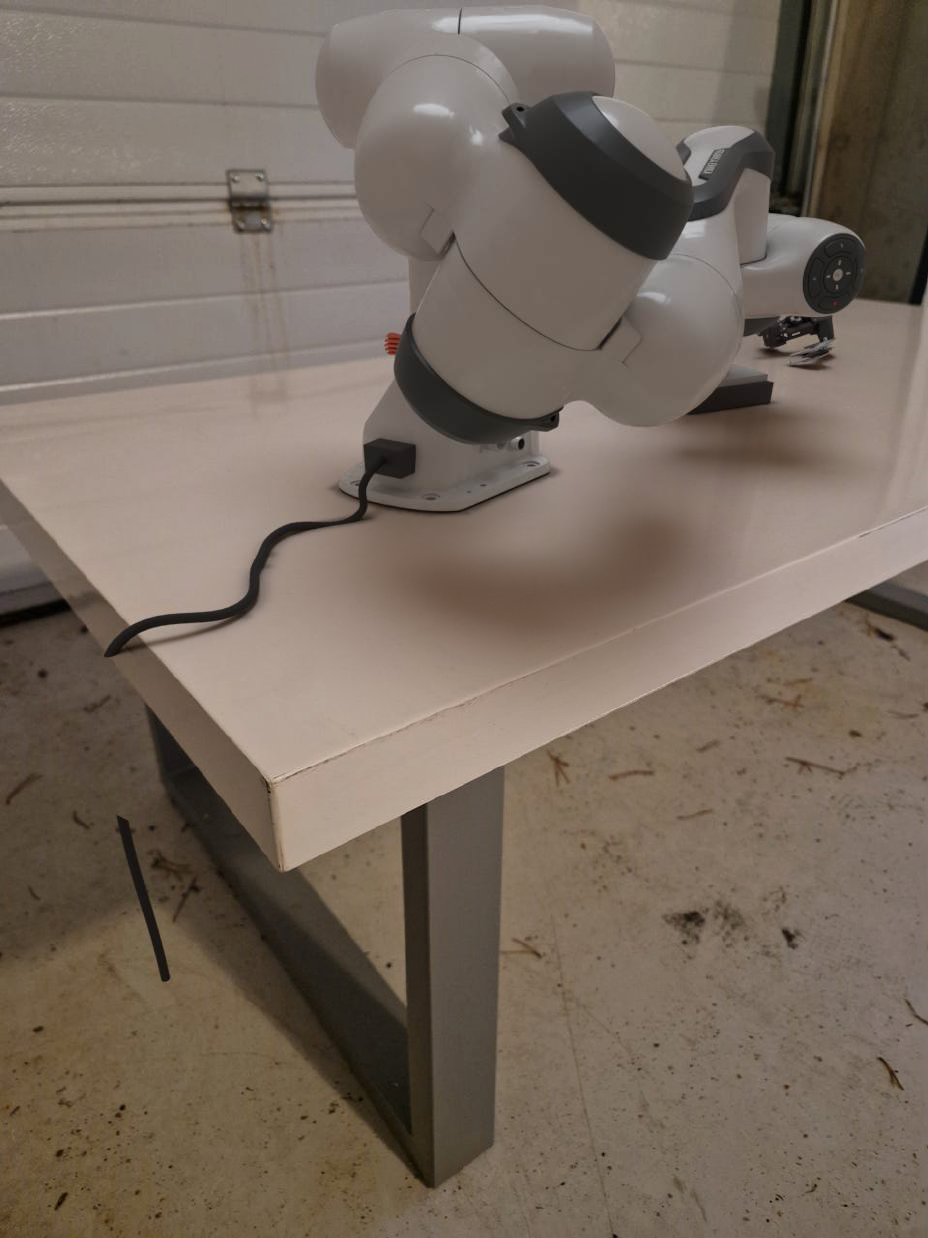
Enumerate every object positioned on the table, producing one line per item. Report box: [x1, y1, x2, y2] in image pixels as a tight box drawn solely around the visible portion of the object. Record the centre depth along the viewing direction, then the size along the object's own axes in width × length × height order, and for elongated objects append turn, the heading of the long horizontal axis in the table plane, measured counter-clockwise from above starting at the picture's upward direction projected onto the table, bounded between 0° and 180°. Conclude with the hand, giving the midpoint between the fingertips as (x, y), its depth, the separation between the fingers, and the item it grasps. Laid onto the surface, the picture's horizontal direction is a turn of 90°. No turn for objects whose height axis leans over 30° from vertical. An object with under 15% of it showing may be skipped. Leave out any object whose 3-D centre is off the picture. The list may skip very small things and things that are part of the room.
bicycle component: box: [756, 315, 837, 366], centre depth 130 cm, size 12×7×15 cm
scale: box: [687, 363, 775, 415], centre depth 110 cm, size 13×13×4 cm
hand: (715, 247), depth 102 cm, fingers open, 8 cm apart
